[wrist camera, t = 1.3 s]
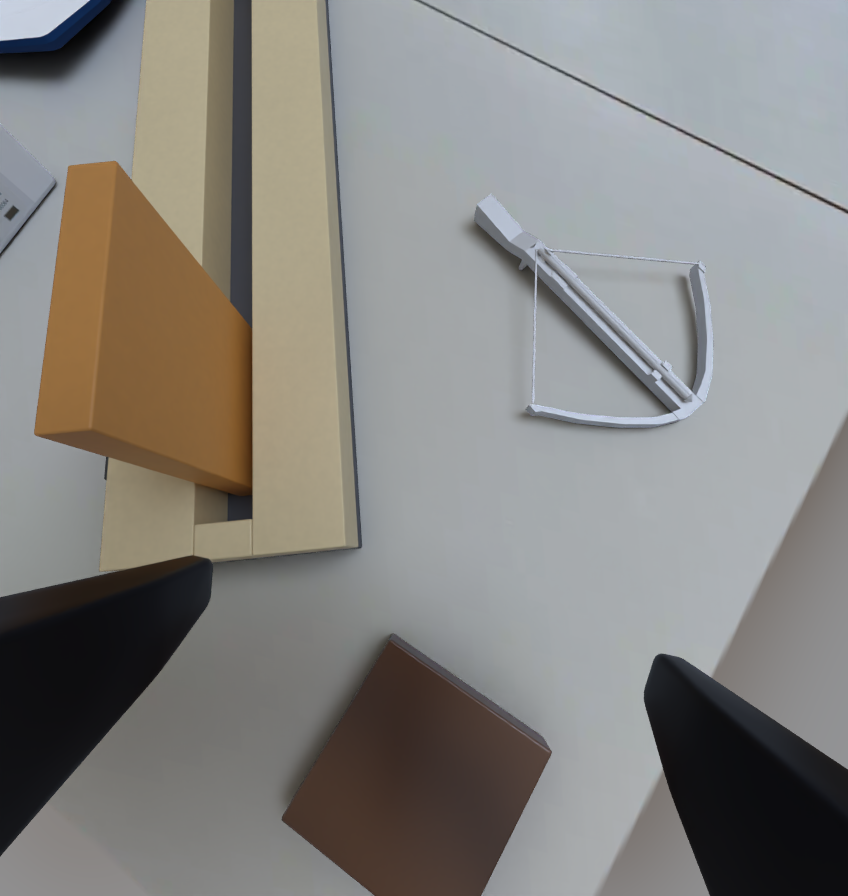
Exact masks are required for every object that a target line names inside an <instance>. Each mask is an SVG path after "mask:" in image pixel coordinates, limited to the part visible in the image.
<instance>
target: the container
mask: <svg viewBox="0 0 848 896" xmlns="http://www.w3.org/2000/svg"><path fill="white" fill-rule="evenodd" d="M54 185H55V178H54V177H53V175H52V174H51V173H50V172H49V171H48V170H47V169H46V168H45V167H44V166H43V165H42V164H41V163H40V162H39V161H38V160H37V159H36V158H35V157H34V156H33V155H32V154H31V153H30V152H29V151H28V150H27V149H26V148H25V147H24V146H23V145H22V144H21V143H20V142H19V141H18V140H17V139H16V138H15V137H14V136H13V135H11V134H10V133H9V132H8V131H7V130H6V129H5V128H4V127H3V126H2V125H1V124H0V253H1V252H2V250H3V249H4V248H5V247H6V245H7V244H8V243H9V242H10V240H11V239H12V238H13V237H14V235H15V234H16V233H17V232H18V230H19V229H20V228H21V227H22V225H23V224H24V223H25V221H26V220H27V219H28V218H29V216H30V215H31V214H32V213H33V211H34V210H35V209H36V208H37V206H38V205H39V204H40V203H41V201H42V200H43V199H44V197H45V196H46V195H47V194H48V192H49V191H50V190H51V189H52V187H53V186H54Z"/></svg>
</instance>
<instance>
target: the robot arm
mask: <svg viewBox="0 0 848 896" xmlns="http://www.w3.org/2000/svg"><path fill="white" fill-rule="evenodd" d="M212 572H213V564H212V561H211V560H210V559H208V558H204V557H199V556H195V555H190V556H185V557H180V558H176V559H171V560H167V561H162V562H158V563H153V564H149V565H144V566H140V567H135V568H131V569H126V570H122V571H117V572H113V573H108V574H104V575H99V576H94V577H90V578H85V579H81V580H76V581H72V582H67V583H63V584H58V585H54V586H49V587H45V588H40V589H36V590H31V591H27V592H22V593H18V594H13V595H9V596H4V597H0V856H1V855H2V854H3V852H4V851H5V850H6V849H7V848H8V847H9V846H10V844H11V843H12V842H13V841H14V840H15V839H16V837H17V836H18V835H19V834H20V833H21V832H22V830H23V829H24V828H25V827H26V826H27V825H28V824H29V822H30V821H31V820H32V819H33V818H34V817H35V816H36V814H37V813H38V812H39V811H40V810H41V809H42V808H43V806H44V805H45V804H46V803H47V802H48V801H49V799H50V798H51V797H52V796H53V795H54V794H55V793H56V791H57V790H58V789H59V788H60V787H61V786H62V785H63V783H64V782H65V781H66V780H67V779H68V778H69V776H70V775H71V774H72V773H73V772H74V771H75V770H76V768H77V767H78V766H79V765H80V764H81V763H82V761H83V760H84V759H85V758H86V757H87V756H88V755H89V753H90V752H91V751H92V750H93V749H94V748H95V746H96V745H97V744H98V743H99V742H100V741H101V740H102V738H103V737H104V736H105V735H106V734H107V733H108V732H109V730H110V729H111V728H112V727H113V726H114V725H115V723H116V722H117V721H118V720H119V719H120V718H121V717H122V715H123V714H124V713H125V712H126V711H127V710H128V708H129V707H130V706H131V705H132V704H133V703H134V702H135V700H136V699H137V698H138V697H139V696H140V695H141V694H142V692H143V691H144V690H145V689H146V688H147V687H148V685H149V684H150V683H151V682H152V681H153V679H154V678H155V677H156V676H157V675H158V673H159V672H160V671H161V670H162V668H163V667H164V666H165V664H166V663H167V662H168V660H169V659H170V658H171V656H172V655H173V653H174V652H175V651H176V649H177V648H178V646H179V645H180V644H181V642H182V641H183V639H184V638H185V637H186V635H187V634H188V632H189V631H190V630H191V628H192V627H193V625H194V624H195V623H196V621H197V620H198V619H199V617H200V616H201V614H202V613H203V612H204V610H205V609H206V607H207V605H208V603H209V600H210V597H211V586H212ZM644 702H645V707H646V710H647V714H648V717H649V721H650V724H651V728H652V731H653V735H654V738H655V742H656V745H657V749H658V752H659V756H660V759H661V763H662V766H663V770H664V773H665V777H666V780H667V783H668V786H669V789H670V792H671V795H672V798H673V800H674V803H675V806H676V809H677V811H678V813H679V816H680V819H681V821H682V824H683V827H684V829H685V832H686V835H687V837H688V840H689V842H690V845H691V848H692V850H693V853H694V855H695V858H696V861H697V863H698V866H699V868H700V871H701V874H702V876H703V879H704V881H705V884H706V886H707V889H708V891H709V894H710V896H848V769H846V768H844V767H843V766H842V765H840V764H839V763H837V762H836V761H834V760H833V759H831V758H830V757H828V756H827V755H825V754H824V753H822V752H820V751H819V750H818V749H816V748H815V747H813V746H812V745H810V744H809V743H807V742H806V741H804V740H803V739H801V738H800V737H798V736H797V735H796V734H794V733H792V732H791V731H790V730H788V729H787V728H785V727H783V726H782V725H780V724H779V723H778V722H776V721H775V720H773V719H772V718H770V717H769V716H767V715H766V714H764V713H763V712H761V711H760V710H758V709H757V708H755V707H754V706H752V705H751V704H749V703H748V702H746V701H745V700H743V699H742V698H740V697H739V696H738V695H736V694H735V693H733V692H732V691H730V690H728V689H727V688H726V687H724V686H723V685H721V684H720V683H718V682H716V681H715V680H714V679H712V678H711V677H709V676H708V675H706V674H705V673H703V672H702V671H700V670H699V669H697V668H696V667H694V666H693V665H691V664H690V663H688V662H687V661H685V660H684V659H682V658H680V657H676V656H671V655H666V654H659V655H657V656H656V657H655V658H654V661H653V664H652V667H651V670H650V673H649V677H648V680H647V683H646V686H645V690H644Z"/></svg>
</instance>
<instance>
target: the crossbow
mask: <svg viewBox="0 0 848 896" xmlns="http://www.w3.org/2000/svg"><path fill="white" fill-rule="evenodd" d="M474 221H475V222H476V223H477V224H478V225H479V226H480V227H481V228H483V229H484V230H485V231H486V232H487V233H488V234H489V235H490V236H491V237H493V238H494V239H495V240H496V241H497V242H498V243H499V244H500V245H502V246H503V247H504V248H505V249H506V250H507V251H509V252H510V253H512V254H514V255H515V256H517V257H518V258H520V259H522V261H521V263H520V266H519V268H518V269H519V270H520V271H521V270H522V269H524V268H525V267H526V266H529V267H530V268H531V269H532V270H533V272H535V293H534V336H533V379H532V405H529V406H528V407H527V408H526V409H525V410H526V411H527V412H528V413H529V414H530V415H531V416H536V415H540V416H544V417H549V418H554V419H558V420H563V421H568V422H572V423H578V424H588V425H597V426H607V427H616V428H653V427H657V426H661V425H665V424H669V423H670V424H672V423H675V422H677V421H680V420H682V419H685V418H687V417H689V415H690V414H691V413H692V412H693V411H695V410H696V409H697V408H698V407H699V406H700V405H701V404H703V403H704V402H705V400H706V398H707V395H708V393H707V392H708V389H709V386H710V383H711V379H712V372H713V347H714V343H713V330H712V318H711V306H710V301H709V296H708V291H707V286H706V281H705V276H704V273H705V268H706V266H705V265H704V264H703V263H702V262H701V261H700V260H699V261H698V262H697V263H696V262H685V261H675V260H664V259H653V258H642V257H631V256H620V255H610V254H599V253H588V252H577V251H566V250H555V249H549V248H548V247H547V246H546V245H545V244H544V243H543V242H542V241H541V240H539V239H538V238H536V237H534V236H533V235H531V234H529V233H527V232H526V231H524V230H523V229H522V228H521V227H520V225H519V224H518V223H517V222H516V221H515V220H514V219H513V217H512V216H511V215H510V214H509V213H508V212H507V211H506V209H505V208H504V207H503V206H502V205H501V204H500V203H499V201H498V200H497V199H496V198H495V197H494V196H493V195H492V193H491V194H490V195H489V196H487V197H486V198H485V199H483V200H482V201H481V202H479V203H478V204H477V206H476V212H475V217H474ZM553 252H563V253H574V254H585V255H596V256H607V257H617V258H628V259H639V260H650V261H661V262H672V263H682V264H693V265H694V266H693V267H692V268H691V269H690V274H689V276H690V281H691V286H692V292H693V297H694V302H695V307H696V321H697V335H698V357H697V376H696V379H695V382H694V385H693V388H692V391H691V390H690V389H689V388H688V387H687V386H686V385H685V384H684V383H683V382H682V381H681V380H680V379H679V378H678V377H677V376H676V375H675V374H674V373H673V372H672V371H671V370H670V369H671V368H672V366H671V365H670V364H669V363H668V362H667V361H665V362H662V361H661V360H660V359H659V358H658V357H657V356H656V355H655V354H654V353H653V352H652V351H651V350H650V349H649V348H648V347H647V346H646V345H645V344H644V343H643V342H642V341H641V340H640V339H639V338H638V337H637V336H636V335H635V334H634V333H633V332H632V331H631V330H630V329H629V328H628V327H627V326H626V325H625V324H624V323H623V322H622V321H621V320H620V319H619V318H618V317H617V316H616V315H615V314H614V313H613V312H612V311H611V310H610V309H609V308H608V307H607V306H606V305H605V304H604V303H603V302H602V301H601V300H600V299H599V298H598V297H597V296H596V295H595V294H594V293H593V292H592V291H591V290H590V289H589V288H588V287H587V286H586V285H585V284H584V283H583V282H582V281H581V280H580V279H579V278H578V276H577V275H576V274H575V273H574V272H573V271H572V270H571V269H570V268H569V267H568V266H567V265H566V264H564V263H563V262H562V261H561V260H560V259H559V258H558V257H557V256H556V255H555V254H554V253H553ZM537 275H538V276H539V278H540V279H541V280H542V281H543V282H544V283H545V284H546V285H547V286H548V287H549V288H550V289H551V290H552V291H553V292H554V293H555V294H556V295H557V296H558V297H559V298H560V299H561V300H562V301H563V302H564V303H565V304H566V305H567V306H568V307H569V308H570V309H571V310H572V311H573V312H574V313H575V314H576V315H577V316H578V317H579V318H580V319H581V320H582V321H583V322H584V323H585V324H586V325H587V326H588V327H589V328H590V329H591V330H592V331H593V332H594V333H595V334H596V335H597V336H598V337H599V338H600V339H601V340H602V341H603V342H604V344H605V345H606V346H607V347H608V348H609V349H610V350H611V351H612V352H613V353H614V354H615V355H616V356H617V357H618V358H619V359H620V360H621V361H622V362H623V363H624V364H625V365H626V366H627V367H628V368H629V369H630V370H631V371H632V372H633V373H634V374H635V375H636V376H637V377H638V378H639V379H640V380H641V381H642V382H643V383H644V384H645V385H646V386H647V387H648V388H649V389H650V390H651V391H652V392H653V393H654V394H655V395H656V396H657V397H658V398H659V399H660V400H661V401H662V402H663V403H664V404H665V405H666V406H667V407H668V408H669V410H670V411H671V413H669V414H665V415H661V416H657V417H610V416H600V415H591V414H581V413H573V412H569V411H564V410H559V409H555V408H550V407H545V406H541V405H537V404H534V384H535V339H536V294H537Z"/></svg>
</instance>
